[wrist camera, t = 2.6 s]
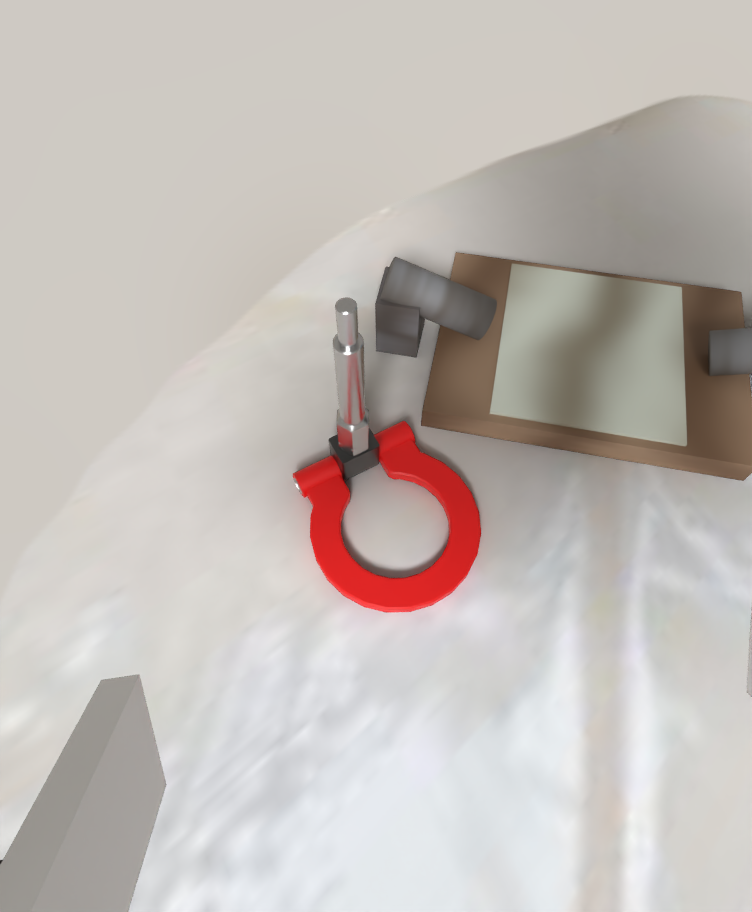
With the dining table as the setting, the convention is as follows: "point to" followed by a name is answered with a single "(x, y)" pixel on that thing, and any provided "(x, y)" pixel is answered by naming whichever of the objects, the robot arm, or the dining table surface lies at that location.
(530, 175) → the dining table surface
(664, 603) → the dining table surface
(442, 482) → the tow hook
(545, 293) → the shaft stand
